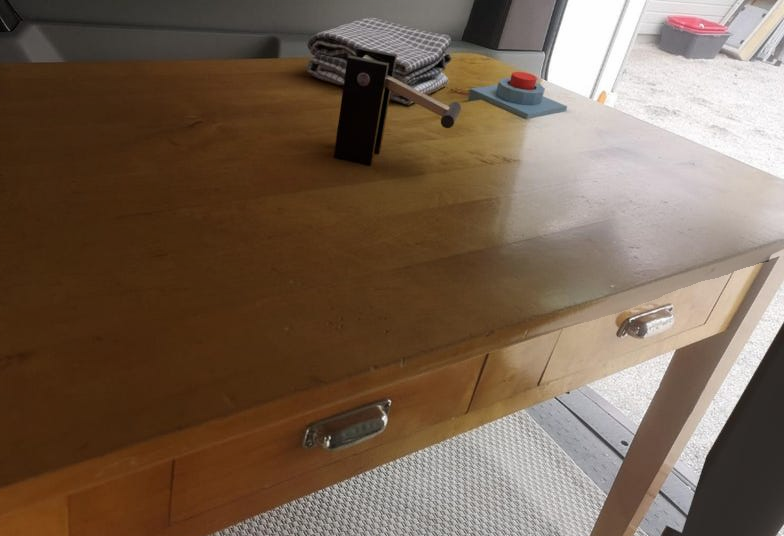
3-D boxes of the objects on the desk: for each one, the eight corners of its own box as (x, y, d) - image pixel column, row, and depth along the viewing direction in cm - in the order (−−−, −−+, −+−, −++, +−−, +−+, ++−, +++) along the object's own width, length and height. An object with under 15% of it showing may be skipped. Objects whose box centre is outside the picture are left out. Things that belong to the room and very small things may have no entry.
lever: (455, 120, 86) (465, 101, 85) (448, 134, 82) (458, 114, 81) (360, 70, 86) (369, 51, 85) (348, 82, 82) (357, 62, 81)
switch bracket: (412, 164, 92) (434, 56, 85) (396, 192, 85) (418, 77, 78) (318, 142, 95) (331, 36, 87) (295, 168, 88) (307, 54, 80)
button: (538, 90, 111) (542, 78, 110) (522, 93, 109) (526, 80, 108) (519, 82, 113) (522, 70, 112) (503, 85, 111) (506, 72, 110)
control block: (563, 120, 112) (571, 93, 110) (523, 129, 107) (531, 101, 105) (506, 96, 119) (513, 70, 117) (466, 103, 114) (473, 76, 112)
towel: (351, 59, 126) (358, 9, 122) (452, 88, 119) (463, 36, 114) (301, 77, 116) (306, 23, 111) (407, 111, 108) (418, 54, 104)
